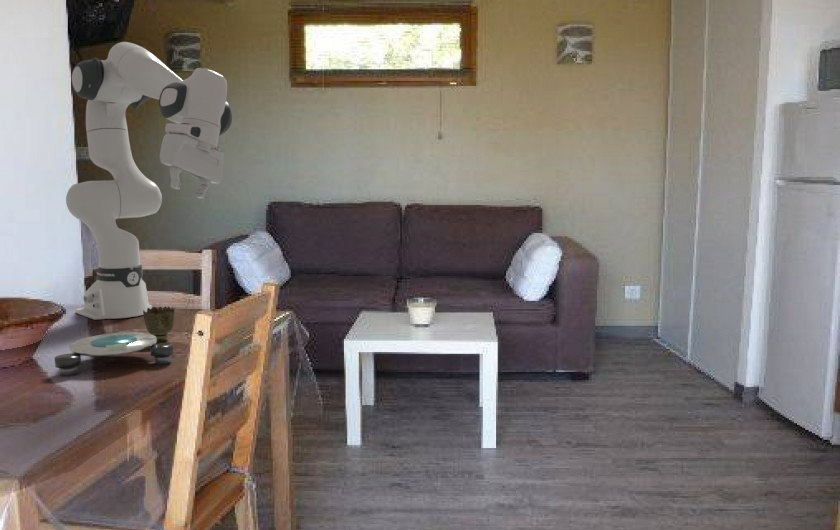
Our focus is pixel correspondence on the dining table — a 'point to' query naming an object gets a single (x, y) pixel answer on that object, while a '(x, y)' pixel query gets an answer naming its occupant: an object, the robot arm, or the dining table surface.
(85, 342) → the leveling base
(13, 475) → the dining table surface
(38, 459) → the dining table surface
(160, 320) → the cup
